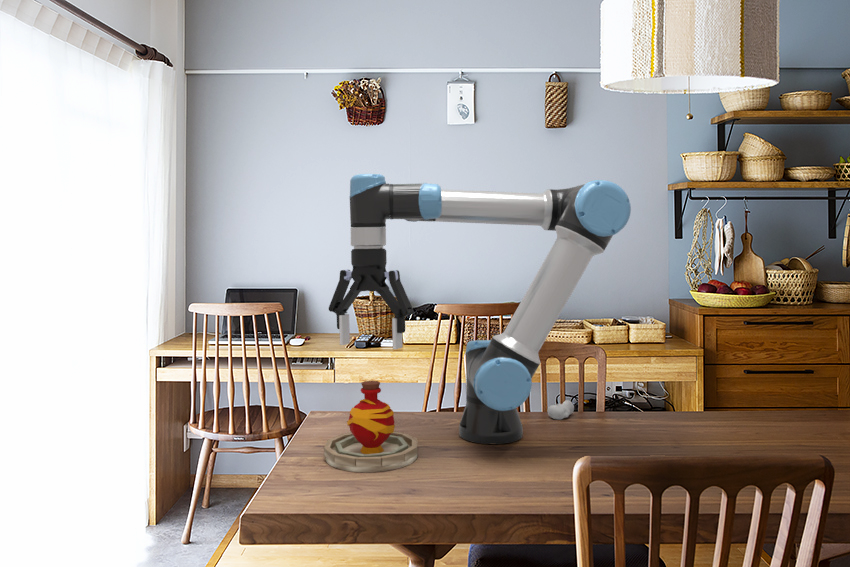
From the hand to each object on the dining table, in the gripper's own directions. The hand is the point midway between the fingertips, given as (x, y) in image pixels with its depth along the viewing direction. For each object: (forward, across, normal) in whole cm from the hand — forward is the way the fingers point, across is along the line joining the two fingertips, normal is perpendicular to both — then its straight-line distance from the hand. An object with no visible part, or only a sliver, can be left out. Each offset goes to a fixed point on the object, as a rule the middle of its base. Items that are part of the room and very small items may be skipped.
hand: (370, 346), depth 142 cm
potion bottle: (+23, 0, 0) cm, 23 cm away
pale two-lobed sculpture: (+25, -27, -49) cm, 61 cm away
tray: (+24, 0, 0) cm, 24 cm away
